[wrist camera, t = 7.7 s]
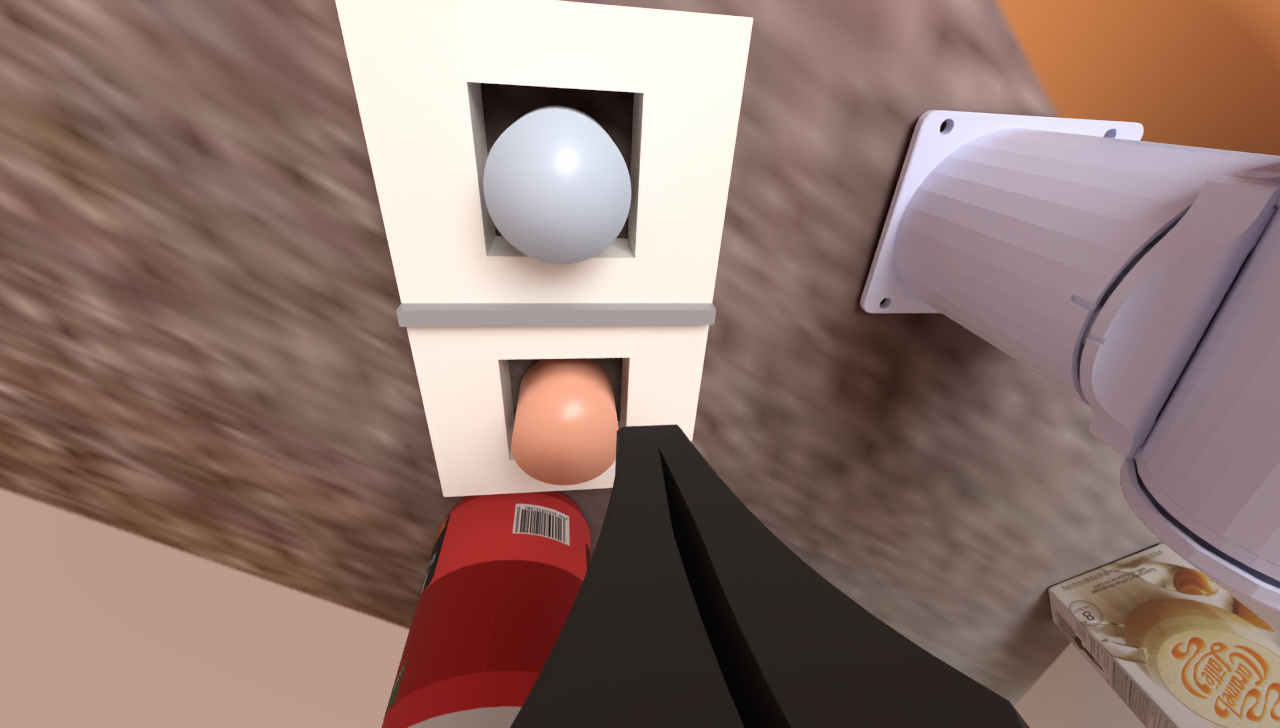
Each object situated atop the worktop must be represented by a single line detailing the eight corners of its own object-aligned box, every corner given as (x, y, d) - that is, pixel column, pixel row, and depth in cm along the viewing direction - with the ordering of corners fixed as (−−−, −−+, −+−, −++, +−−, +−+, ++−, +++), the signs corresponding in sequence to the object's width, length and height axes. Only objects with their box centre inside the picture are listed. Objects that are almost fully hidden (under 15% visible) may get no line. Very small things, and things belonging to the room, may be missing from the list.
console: (728, 25, 15) (760, 15, 13) (676, 450, 25) (688, 493, 22) (366, -5, 14) (320, -24, 11) (454, 459, 23) (440, 507, 20)
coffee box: (1166, 537, 35) (1540, 824, 22) (1161, 578, 39) (1484, 851, 25) (1044, 587, 37) (1322, 885, 23) (1048, 622, 40) (1296, 902, 26)
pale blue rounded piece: (621, 108, 15) (634, 116, 12) (617, 233, 17) (628, 265, 14) (493, 101, 15) (474, 107, 12) (505, 230, 17) (491, 263, 14)
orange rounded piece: (613, 352, 20) (622, 400, 17) (611, 427, 22) (618, 482, 19) (516, 353, 19) (506, 404, 16) (522, 431, 21) (515, 488, 18)
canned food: (414, 500, 24) (317, 769, 15) (566, 461, 24) (566, 705, 15) (474, 586, 28) (428, 839, 19) (604, 552, 28) (623, 790, 19)
